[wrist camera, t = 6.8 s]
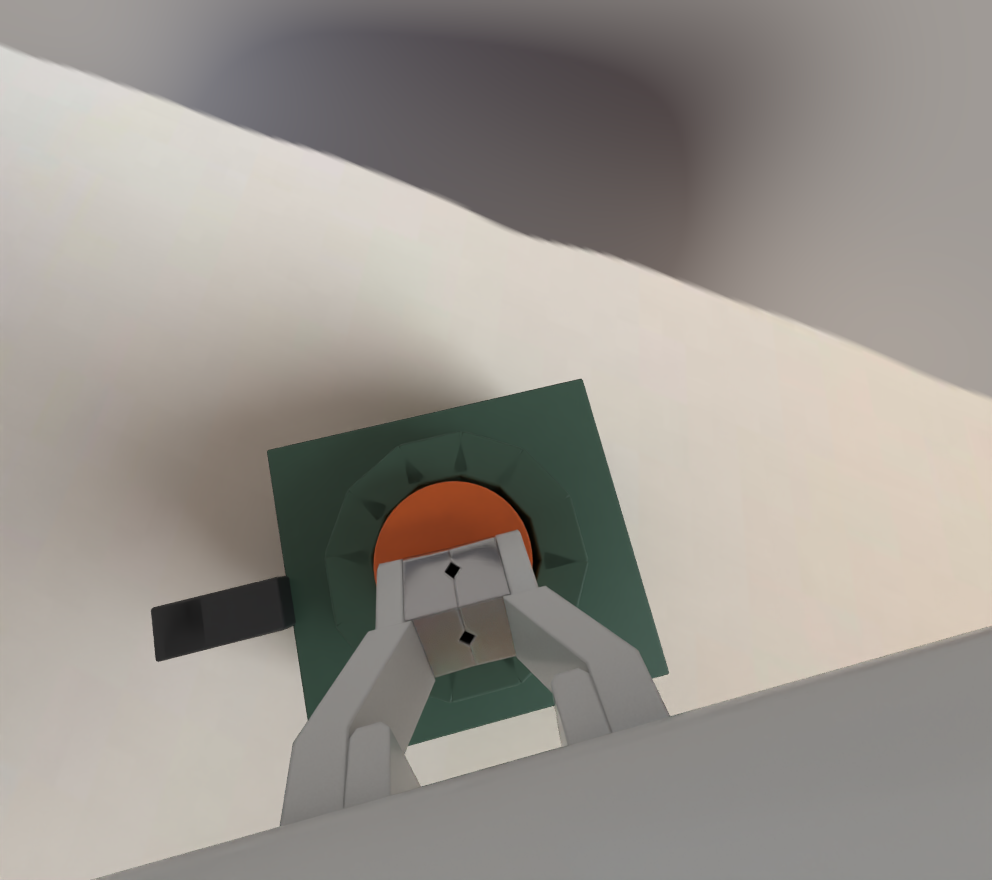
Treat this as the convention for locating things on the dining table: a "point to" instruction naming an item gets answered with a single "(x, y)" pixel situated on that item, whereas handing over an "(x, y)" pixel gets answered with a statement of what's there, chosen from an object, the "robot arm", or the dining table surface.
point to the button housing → (466, 458)
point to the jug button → (445, 521)
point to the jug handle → (222, 618)
